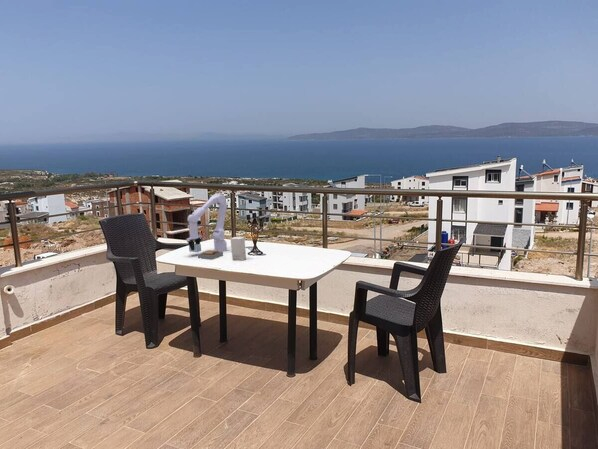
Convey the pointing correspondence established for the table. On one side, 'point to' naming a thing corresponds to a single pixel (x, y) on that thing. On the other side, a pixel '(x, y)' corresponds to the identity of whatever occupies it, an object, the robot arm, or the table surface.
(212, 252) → the walnut block
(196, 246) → the carton
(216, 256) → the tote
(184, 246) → the table surface
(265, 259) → the table surface
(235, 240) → the skincare box
